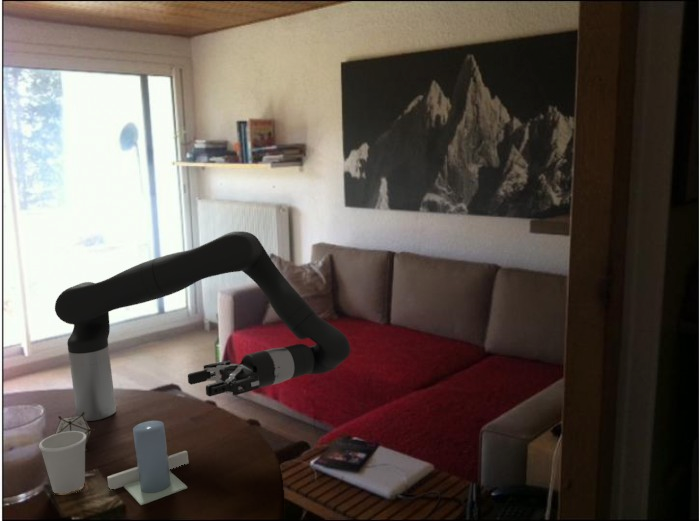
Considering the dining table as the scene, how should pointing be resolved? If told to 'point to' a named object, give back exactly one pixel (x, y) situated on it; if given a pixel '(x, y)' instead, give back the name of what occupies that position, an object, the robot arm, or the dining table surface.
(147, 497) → the coaster
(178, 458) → the white long bar
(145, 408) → the dining table surface
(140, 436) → the pale blue cylinder
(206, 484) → the dining table surface
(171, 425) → the dining table surface
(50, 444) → the dixie cup
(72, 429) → the grey faceted polyhedron
